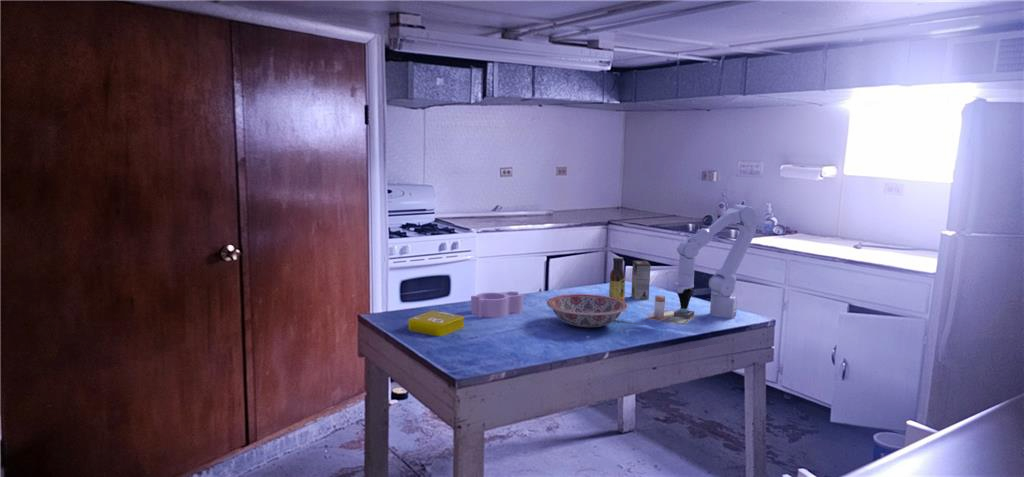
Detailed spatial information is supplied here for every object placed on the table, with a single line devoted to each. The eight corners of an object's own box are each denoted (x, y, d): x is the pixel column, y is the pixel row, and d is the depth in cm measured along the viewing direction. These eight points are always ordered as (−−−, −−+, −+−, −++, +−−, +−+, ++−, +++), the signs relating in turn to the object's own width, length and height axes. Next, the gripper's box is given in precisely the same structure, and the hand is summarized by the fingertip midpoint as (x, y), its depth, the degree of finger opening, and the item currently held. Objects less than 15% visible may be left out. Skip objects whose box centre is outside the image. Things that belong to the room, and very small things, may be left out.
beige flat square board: (697, 317, 253) (697, 314, 253) (684, 327, 239) (684, 324, 239) (659, 311, 261) (659, 309, 260) (645, 320, 247) (645, 317, 247)
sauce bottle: (623, 308, 266) (626, 259, 263) (608, 307, 267) (610, 258, 264) (624, 304, 272) (626, 256, 269) (609, 303, 273) (611, 255, 270)
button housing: (694, 315, 252) (694, 311, 252) (689, 318, 247) (689, 314, 247) (678, 312, 256) (678, 308, 255) (673, 316, 250) (673, 312, 250)
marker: (664, 316, 249) (666, 296, 248) (661, 319, 246) (663, 298, 244) (655, 315, 251) (657, 294, 249) (652, 317, 248) (653, 296, 246)
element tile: (466, 327, 236) (466, 314, 235) (440, 338, 223) (440, 324, 222) (432, 321, 243) (432, 308, 242) (406, 330, 230) (406, 317, 230)
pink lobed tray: (512, 306, 266) (512, 289, 265) (528, 313, 255) (528, 296, 254) (467, 312, 256) (467, 294, 255) (482, 319, 245) (482, 301, 244)
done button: (689, 313, 252) (689, 307, 252) (686, 314, 249) (687, 309, 249) (681, 311, 253) (681, 306, 253) (678, 313, 251) (678, 308, 250)
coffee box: (630, 296, 286) (632, 260, 283) (645, 297, 285) (647, 260, 283) (634, 301, 276) (635, 264, 274) (649, 302, 276) (651, 264, 274)
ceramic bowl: (630, 318, 251) (631, 297, 250) (621, 339, 223) (622, 316, 222) (555, 311, 258) (555, 291, 257) (537, 331, 231) (538, 309, 230)
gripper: (681, 269, 257) (679, 303, 259) (669, 275, 245) (667, 310, 247) (699, 271, 254) (697, 305, 256) (688, 277, 241) (686, 313, 243)
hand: (684, 308), depth 251 cm, fingers closed, pressing on done button
